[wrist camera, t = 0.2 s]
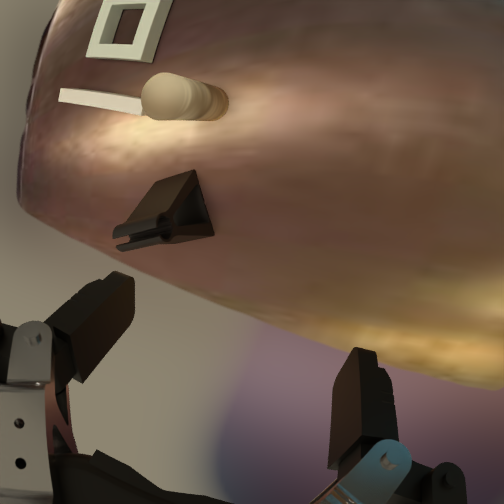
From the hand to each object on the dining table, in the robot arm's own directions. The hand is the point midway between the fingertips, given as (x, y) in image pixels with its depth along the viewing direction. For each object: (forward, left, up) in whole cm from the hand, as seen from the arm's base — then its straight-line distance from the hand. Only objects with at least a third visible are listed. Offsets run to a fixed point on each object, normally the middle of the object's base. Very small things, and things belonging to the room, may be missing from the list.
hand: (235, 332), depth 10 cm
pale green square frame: (-15, -29, -28) cm, 43 cm away
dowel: (-6, -14, -28) cm, 32 cm away
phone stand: (+8, -14, -28) cm, 32 cm away
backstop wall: (-4, -29, -28) cm, 40 cm away
